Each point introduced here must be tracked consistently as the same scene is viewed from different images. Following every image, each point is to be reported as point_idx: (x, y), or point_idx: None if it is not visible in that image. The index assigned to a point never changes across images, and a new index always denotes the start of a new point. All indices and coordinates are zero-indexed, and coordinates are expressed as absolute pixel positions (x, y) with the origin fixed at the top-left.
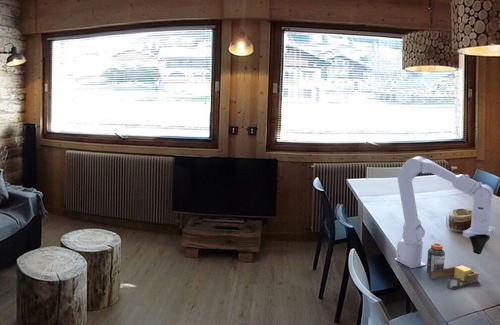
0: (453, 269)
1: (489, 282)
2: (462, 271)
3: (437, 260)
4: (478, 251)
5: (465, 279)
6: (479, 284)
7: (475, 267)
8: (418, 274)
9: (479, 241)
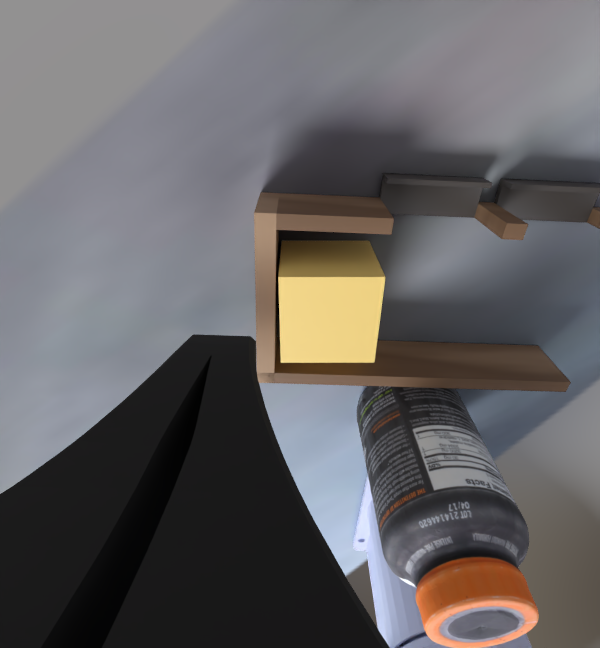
0: (340, 363)
1: (182, 127)
2: (380, 292)
3: (488, 461)
4: (255, 371)
5: (350, 244)
6: (306, 141)
7: (75, 350)
8: (529, 414)
9: (382, 642)
